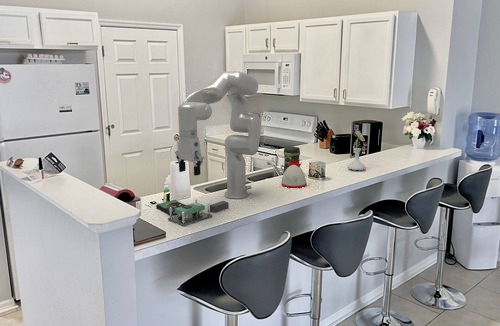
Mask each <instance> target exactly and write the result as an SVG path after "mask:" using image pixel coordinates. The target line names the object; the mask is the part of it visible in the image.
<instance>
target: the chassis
mask: <svg viewBox="0 0 500 326" xmlns="http://www.w3.org/2000/svg"><path fill="white" fill-rule="evenodd" d="M195 202H197V203H198V199H195V200H194V203H195ZM210 205H211V204H210V203H207V212H205V211H203V210H202V211H198V212H195V213H192V214H189V215H186V216H185V214H184V211H183V212H182V215H179V214H178V215H174V216H172V207H170V216H169V217H168V218H167V221H168V222H171V223H172V224H173V223H174V224H176V225H179V226H181V227H188V226H190V225H193V224H196V223H199V222H202V221H205V220H208V219H210V218H211V219H212V218H213V214H211V212H210Z"/></svg>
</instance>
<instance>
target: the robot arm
mask: <svg viewBox="0 0 500 326" xmlns="http://www.w3.org/2000/svg"><path fill="white" fill-rule="evenodd" d="M258 91H259V82H258V80H257V79H256V77H254V76H252V75H250V74H248V73H245V72H243V71H236V70H234V71H232V70H230V71H227V70H226V71H225V70H224V71H221V72H219V74H218V75H217V76H216V77H215V78H214V79H213V80H212V81H211V82H210V83H209V84H208V85H207V86H205V87H204V88H203V87H202V88H201V89H199V90H197V91H194V92H192V93H191V94H189V95H188V96H186V98H185V99H184V100H183V101H182V102H181V104H180V105H178V107H177V109H178V113H177V114H178V115H177V116H178V133H179V134H178V135H179V136H178V142H177V143H178V144H177V150H176V151H175V152H174V153H175V154H174V155H175V157H176V159H177V163H178V172H179V173H182V172H186V168H187V167H186V161H188V162H191V163H192V164H193V175H194V177H195V176H196V177H197V176H199V175H201V166H202V164H203V161H204V155H202V153H201V152H202V151H201V144H200V143H201V142H200V139H199V136H198V122H197V121H206V120H208V119H210V117H211V116H212V114H213V108H212V107H211V104H216V103H218V102H220V101H221V100H222V99H223V98H224V97H225V96H226V95H227V94H228V96H229V98H230V100H231V112H230V121H229V122H230V124H229V127H230V130H231V131H232V132H235V133H245V134H247V135H243V134H230V135H228V136H227V137H226V138H225V140H224V150H225V154H226V185H227V187H226V189H227V191H225V192H224V193H223V195H224V197H225V198H228V199H234V200H235V199H237V200H238V199H245V198H247V197H249V196H250V194H249V192H248V190H251V189H252V185H251V184H250V185H246V184H247V183H246V176H247V175H246V173H247V172H246V169H247V168H246V166H247V165H246V159H245V157H244V156H243V155H245V156H255V155H256V154H257V153H258V151H259V147H260V139H261V131H262V121H261V118H260V116H259V115H257V114H255V113H249V109H250V108H249V107H250V103H249V101H248V98H247V97H246V96H254V95H256V94H257V92H258Z"/></svg>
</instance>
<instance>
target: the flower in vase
mask: <svg viewBox="0 0 500 326" xmlns="http://www.w3.org/2000/svg"><path fill="white" fill-rule="evenodd" d="M356 136H357V139H356V142H355V143H354V144H355V146H356V147H354V148H353V150H354V156H355V157H354V160H353V161H352V162H350V163H349V164H348V165H347V169H349V170H351V169H352V171H356V170H359V171H364V170H366V168H367V167H366V166H365V164H364V163H362V161H360V153H361V151H362V148H360V147H359V146H361V143H359V144H357V143H358V140H360V141H362V142H364V141H365V137H364V136H363V134H362V133H361V131H359V130H357V131H356ZM363 169H364V170H363Z"/></svg>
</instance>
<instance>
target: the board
mask: <svg viewBox="0 0 500 326" xmlns="http://www.w3.org/2000/svg"><path fill="white" fill-rule="evenodd" d="M184 205H185V206H182V207H178V208H175V213H176V214H179V215H182V212H183V211H184V214H185V216H186V215H189V214H192V213H195V212H198V211H202V212H203V211H205V210H206V205H205V204H203V203H200V202H198V201H197V202H195V201H194V202H192V203H188V204H184Z"/></svg>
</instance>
